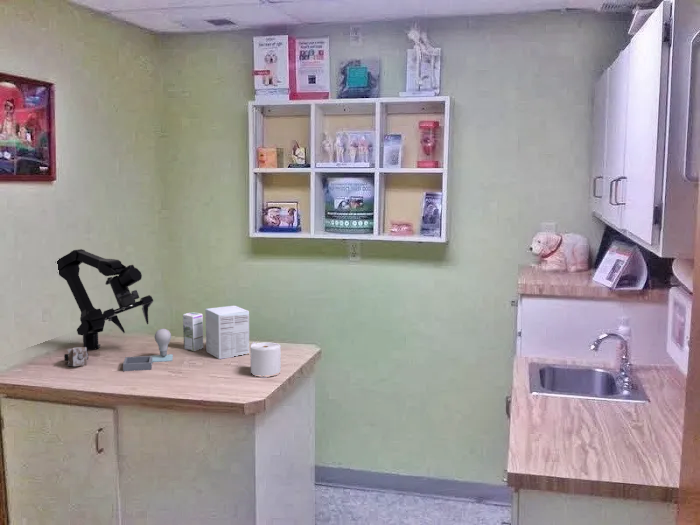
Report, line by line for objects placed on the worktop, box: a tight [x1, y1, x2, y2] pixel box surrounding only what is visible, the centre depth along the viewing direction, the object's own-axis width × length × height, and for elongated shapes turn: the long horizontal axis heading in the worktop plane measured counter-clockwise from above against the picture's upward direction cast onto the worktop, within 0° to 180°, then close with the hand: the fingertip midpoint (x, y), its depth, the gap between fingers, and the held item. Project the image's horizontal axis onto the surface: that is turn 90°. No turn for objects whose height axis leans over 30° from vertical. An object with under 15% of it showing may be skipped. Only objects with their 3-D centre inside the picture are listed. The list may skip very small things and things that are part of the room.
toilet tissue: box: [249, 341, 282, 376], centre depth 240 cm, size 11×12×10 cm
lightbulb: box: [154, 328, 172, 357], centre depth 258 cm, size 6×6×11 cm
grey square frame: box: [122, 355, 153, 372], centre depth 247 cm, size 10×10×2 cm
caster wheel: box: [63, 346, 89, 367], centre depth 249 cm, size 7×11×10 cm
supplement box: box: [205, 305, 250, 360], centre depth 265 cm, size 13×13×18 cm
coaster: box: [150, 353, 174, 363], centre depth 257 cm, size 8×8×1 cm
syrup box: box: [182, 311, 204, 352], centre depth 271 cm, size 6×6×14 cm
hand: (136, 328), depth 258 cm, fingers open, 9 cm apart
